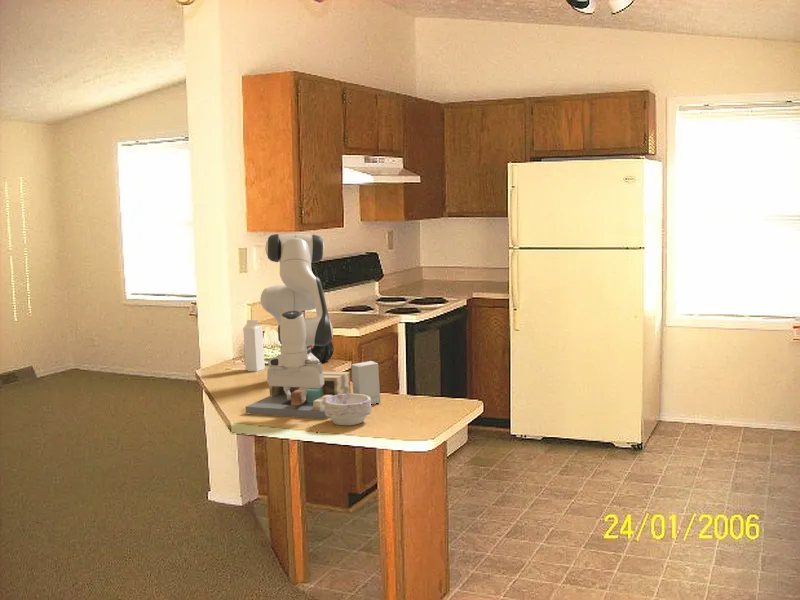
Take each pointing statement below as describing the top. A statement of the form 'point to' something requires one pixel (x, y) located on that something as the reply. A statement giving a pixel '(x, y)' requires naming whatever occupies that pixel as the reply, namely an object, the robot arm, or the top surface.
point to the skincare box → (366, 380)
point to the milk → (253, 346)
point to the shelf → (325, 384)
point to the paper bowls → (348, 408)
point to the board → (285, 407)
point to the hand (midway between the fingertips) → (296, 399)
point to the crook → (296, 396)
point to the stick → (320, 402)
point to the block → (314, 394)
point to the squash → (323, 352)
